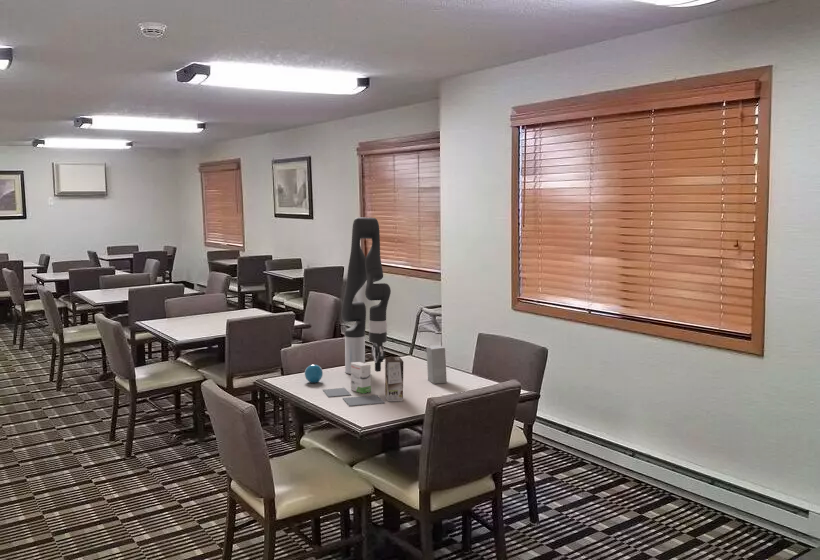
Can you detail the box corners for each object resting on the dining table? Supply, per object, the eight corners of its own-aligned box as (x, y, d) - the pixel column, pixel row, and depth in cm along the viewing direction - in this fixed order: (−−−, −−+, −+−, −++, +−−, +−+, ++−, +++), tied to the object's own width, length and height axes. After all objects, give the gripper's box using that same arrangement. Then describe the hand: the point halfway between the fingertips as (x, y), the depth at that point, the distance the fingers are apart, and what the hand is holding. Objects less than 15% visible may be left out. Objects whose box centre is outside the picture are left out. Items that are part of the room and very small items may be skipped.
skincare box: (447, 383, 302) (447, 348, 301) (431, 384, 300) (431, 348, 299) (440, 378, 310) (441, 344, 309) (425, 379, 308) (425, 345, 307)
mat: (322, 390, 289) (322, 389, 289) (367, 386, 296) (367, 385, 296) (336, 407, 265) (336, 406, 265) (385, 403, 271) (385, 402, 271)
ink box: (371, 392, 287) (371, 364, 286) (361, 394, 284) (361, 366, 283) (359, 387, 294) (359, 360, 293) (350, 389, 291) (349, 362, 289)
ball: (310, 379, 308) (310, 361, 307) (326, 381, 305) (326, 363, 304) (301, 383, 301) (300, 365, 300) (316, 385, 297) (316, 367, 297)
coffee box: (403, 401, 274) (403, 361, 272) (387, 401, 273) (387, 362, 271) (400, 395, 283) (400, 356, 281) (384, 395, 282) (384, 357, 280)
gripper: (365, 328, 294) (365, 368, 296) (373, 333, 281) (373, 375, 283) (381, 327, 296) (381, 367, 298) (391, 332, 284) (391, 374, 286)
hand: (377, 371), depth 291 cm, fingers closed
